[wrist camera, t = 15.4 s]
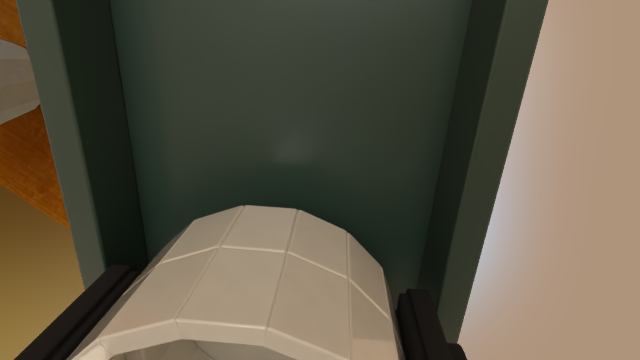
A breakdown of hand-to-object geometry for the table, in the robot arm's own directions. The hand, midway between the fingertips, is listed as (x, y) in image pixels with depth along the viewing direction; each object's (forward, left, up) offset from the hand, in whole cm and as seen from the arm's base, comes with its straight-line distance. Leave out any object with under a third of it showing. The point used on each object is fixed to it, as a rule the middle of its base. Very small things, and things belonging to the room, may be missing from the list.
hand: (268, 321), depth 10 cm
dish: (0, 0, -1) cm, 1 cm away
